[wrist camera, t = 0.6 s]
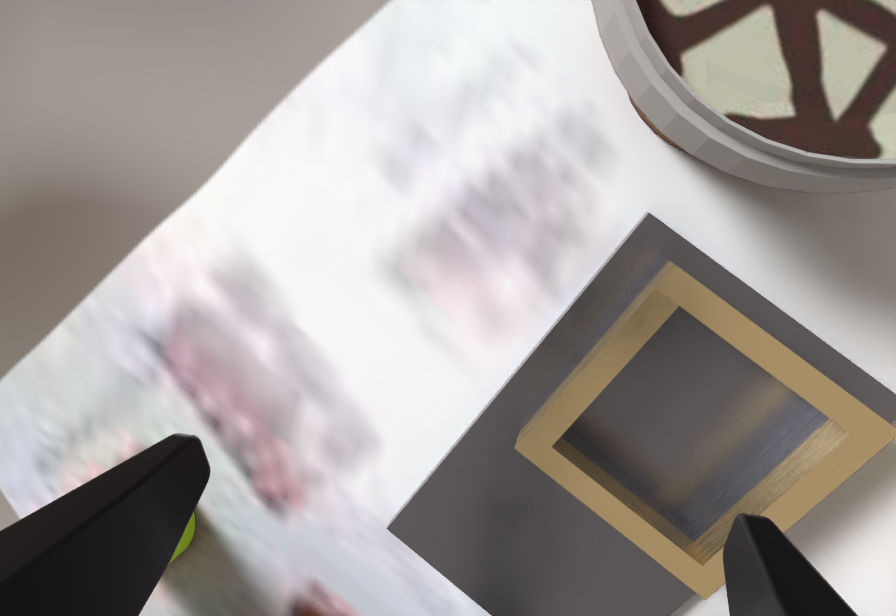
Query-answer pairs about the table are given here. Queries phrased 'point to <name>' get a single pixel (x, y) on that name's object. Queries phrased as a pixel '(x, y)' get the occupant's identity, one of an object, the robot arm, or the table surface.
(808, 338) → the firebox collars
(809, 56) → the food container
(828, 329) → the table surface
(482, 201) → the table surface
